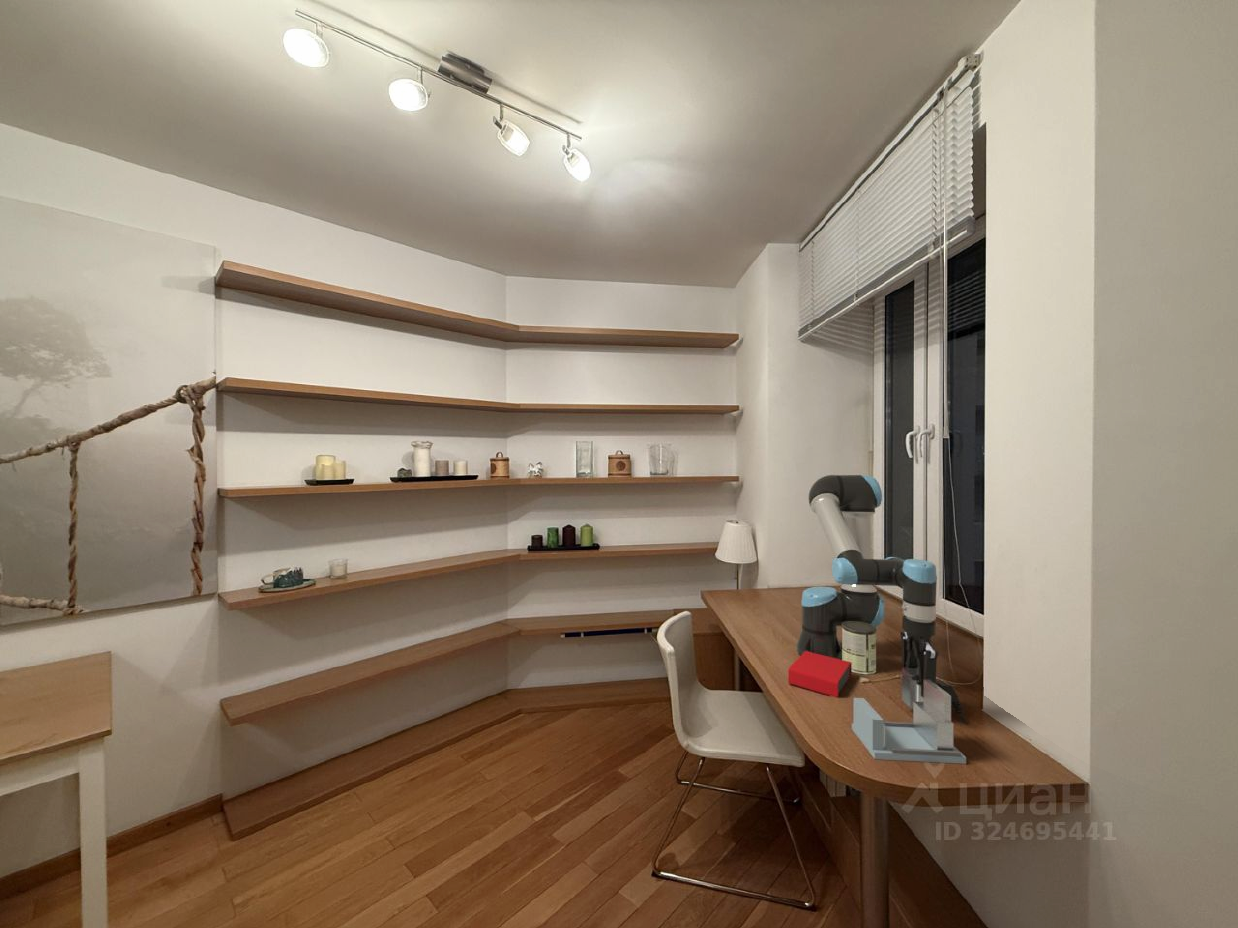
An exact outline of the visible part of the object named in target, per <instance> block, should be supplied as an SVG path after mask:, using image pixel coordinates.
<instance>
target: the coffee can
mask: <svg viewBox="0 0 1238 928" xmlns="http://www.w3.org/2000/svg"><path fill="white" fill-rule="evenodd" d="M876 633H877V627H874V626H873V625H871V624H868V623H864V622H859V621H845V622H843V623H842V626H841V649H842V659H841V660H844V661H848V662H851V664H852V673H854V674H859V675H873V674H875V673H876V672H877V642H876V641H877V640H876V639H877V634H876Z"/></svg>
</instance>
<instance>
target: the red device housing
mask: <svg viewBox="0 0 1238 928" xmlns="http://www.w3.org/2000/svg"><path fill="white" fill-rule="evenodd" d="M787 671H788V675H787V676H788V677H787V679H788V684H790V685H792V686H796V687H800V688H803V689H805V690H809V691H813V692H817V693H820V694H822V695H826V696H830V697H834V698H837V699H838V698H839V694H840V692H841V690H842V689H843V688H844V686H845V684H846V683H847V681H848V680H851V679H852V674H853V672H852V664H851V662H848V661H844V660H842V659H841V660H840V659H836V658H832V657H828V656H824V655H820V654H816V653H812V652H808V651H805V652H804V653H803V654H802V655H800V656H799V657H798V658H796V660H795V661H794V662H793V663H792V664H791V665H790V666H789V667H788V670H787Z"/></svg>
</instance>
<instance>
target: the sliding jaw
mask: <svg viewBox="0 0 1238 928" xmlns="http://www.w3.org/2000/svg"><path fill="white" fill-rule="evenodd" d="M912 709H913V711H912V712H913V718H912V719H913V720H912V721H913V722H912V723H913V727H914V728H915V729H916V730H917V731H918V732H919V733H920V734H921V735H922V736H923V737H924V738H925V739H926V740H927V741H928V742H929V743H930V744H931V745H932V746H933V747H934V748H935V749H936V750H942V751H953V746H954V723H953V722H952V706H951V695H949V694H948V693H947V692H945V691H944V690H943V689H941V688H940V687H939V686H937V685H936V684H935V683H934V682H932V681H931V680H925V679H924V702H914V701H913V708H912Z"/></svg>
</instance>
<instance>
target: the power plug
mask: <svg viewBox="0 0 1238 928" xmlns="http://www.w3.org/2000/svg"><path fill="white" fill-rule="evenodd" d="M936 685H937V686H939V687H940V688H941V689H943V690H944V691H945V692H947V693H948V694H949V695H951V708H952V709H953V710H954V712H955V713H956V714H957V715H960V717H961V718H962V721H963V722H964V723H965V725H966V724H967V725H968V724H969V722H968V720H967V719H966V717H965V715H964V710H963V707H962V704H961V700H959V698H958V697H959V696H958V694H957V693H956V691H955V690H954V687H953V686H952V685H951V684H948V683H946V682H945V681H943V680H936Z"/></svg>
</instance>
